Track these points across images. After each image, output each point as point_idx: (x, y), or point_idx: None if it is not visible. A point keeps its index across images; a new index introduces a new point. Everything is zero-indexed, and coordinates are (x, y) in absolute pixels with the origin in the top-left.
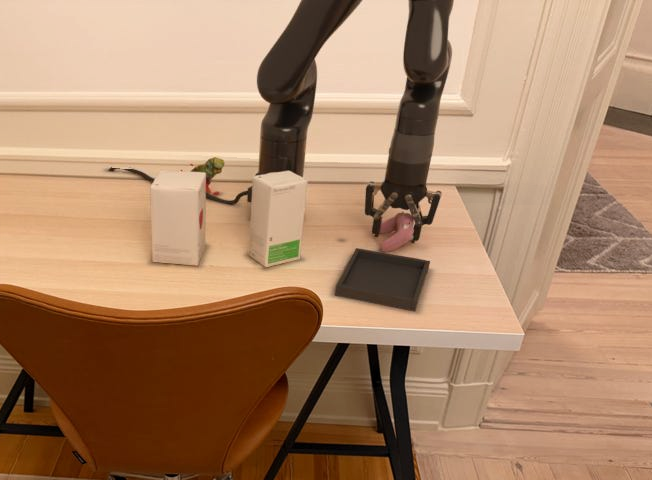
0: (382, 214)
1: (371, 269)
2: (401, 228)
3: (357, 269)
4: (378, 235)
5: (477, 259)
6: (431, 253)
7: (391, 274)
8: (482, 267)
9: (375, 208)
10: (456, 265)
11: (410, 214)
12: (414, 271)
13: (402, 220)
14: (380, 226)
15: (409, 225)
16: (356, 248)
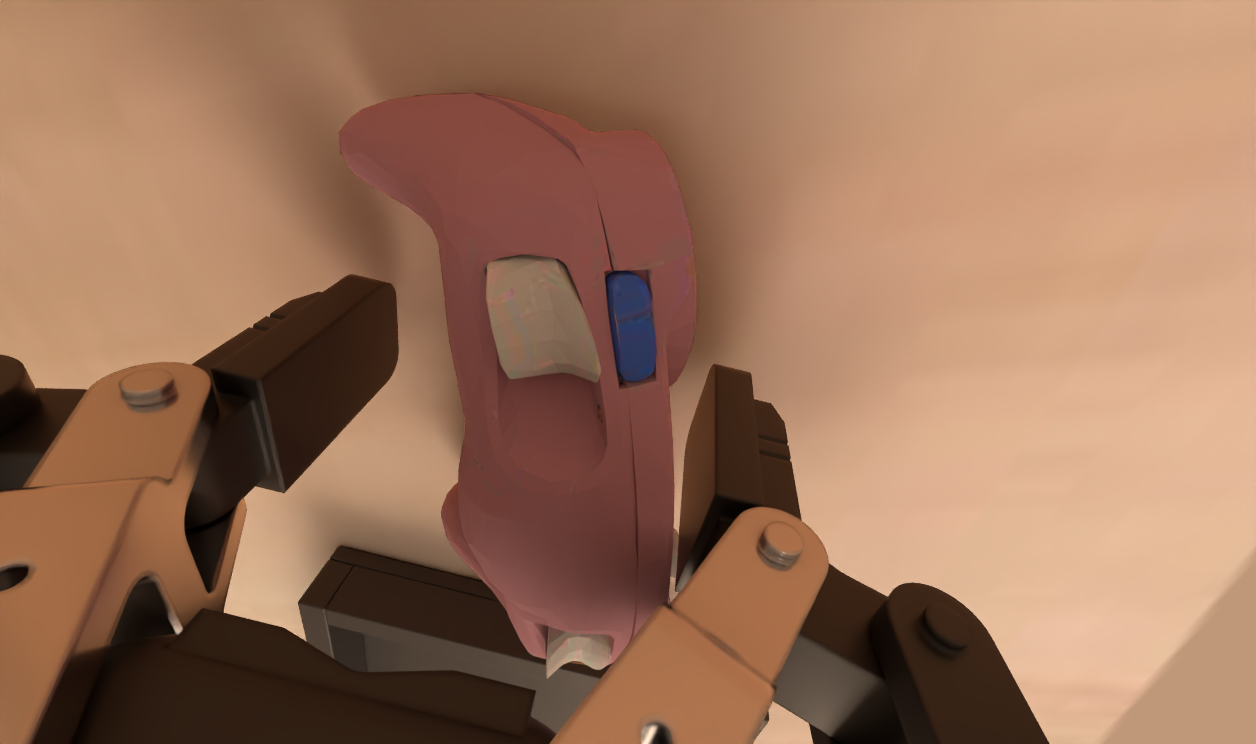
0: (229, 576)
1: (455, 669)
2: (534, 655)
3: (391, 665)
4: (390, 345)
5: (1231, 543)
6: (857, 478)
7: (556, 700)
8: (1178, 628)
9: (33, 458)
10: (984, 609)
11: (647, 365)
12: None
13: (518, 612)
14: (341, 356)
15: (610, 660)
16: (303, 608)
